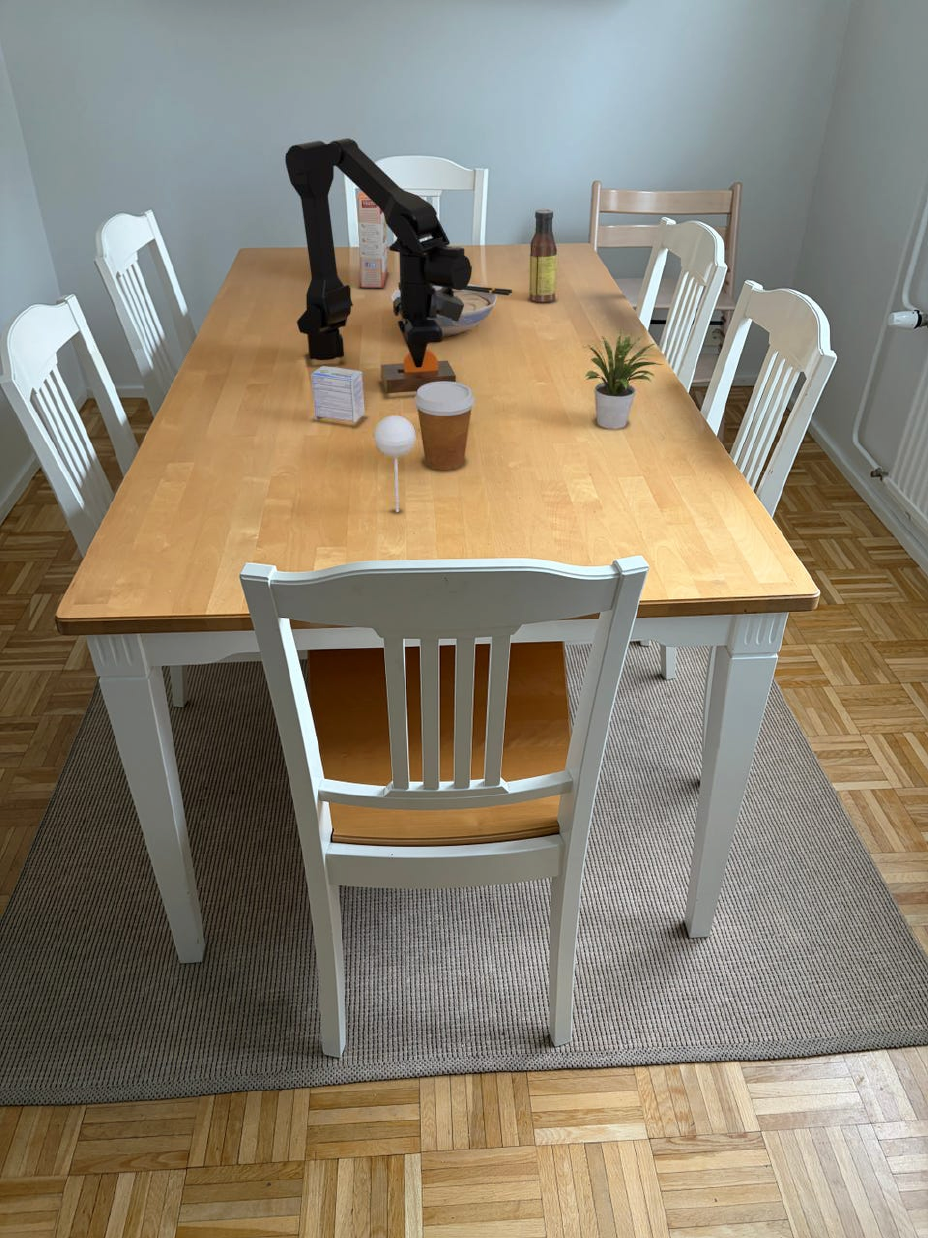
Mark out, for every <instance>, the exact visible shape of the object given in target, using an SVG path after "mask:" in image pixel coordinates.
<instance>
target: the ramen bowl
mask: <svg viewBox="0 0 928 1238" xmlns="http://www.w3.org/2000/svg"><path fill="white" fill-rule="evenodd" d="M432 285H433V284H432ZM433 287H434V288H435V290H436V291H437V290H439V291H440V290H441V289H442V288H443V287H442V286H437V285H433ZM453 292H454V297H455V296H457V297H458V298H459V299H461V301H462V302H463V304H464V308H463V310H462V313H461V316H460V319H459V321H458V322H456V321H453V320H452V319H450V318H447V317H444V316H441V315H438V314H437V318H427V319H428V320H435V321H436V322H437V323H438V324H439V326H440V327H441V329H442V337H452V336H456V335H458V334H460V333H462V332H466V331H469V330H472V329H474V328H475V327H477V326H479V325H480V324H482V323H483V322H484V321H485V319H486V318H487V317H488V316H489V315H490V313H491V312H492V309H493V308H494V306H495V304H496V301H497V300H498V296H497V295H500V296H510V294H512V293H513V290H512V289H507V288H499V287H498V288H496V287H495V288H494V287H486V286H482V285H477V284H472V283H468V285H467V286H466V287H465V288H464V289H463V290H454V289H453ZM397 297H401V295H400V290H399V288H398V289H396V290H394V292H393V293H392V294H391V295H390V298H391V300H392V302H393V301H394V300H395V299H396V298H397ZM399 315H400V316H401V314H400V311H399Z"/></svg>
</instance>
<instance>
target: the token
mask: <svg viewBox="0 0 928 1238" xmlns="http://www.w3.org/2000/svg"><path fill="white" fill-rule="evenodd" d="M438 361H439V360H438V359H437V356H436V355H435V354H434V352H433V351H431V350H430V349H428V348H426V351H425V355H424V359H423V363H422V367H416V366H415V364H414V361H413V359H412V356H411V354H410V352H409V351H408V353H407V354H406V356H405V357H404V360H403V362H402V363H403V368H404V372H405V373H409V372H424V371H438Z"/></svg>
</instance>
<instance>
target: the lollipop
mask: <svg viewBox="0 0 928 1238" xmlns="http://www.w3.org/2000/svg"><path fill="white" fill-rule="evenodd" d="M416 437H417V435H416V430H415V427H414V425H413V423H411V421H410V420H408V418H406V417H404V416H401V415H397V414H391V415H388V416H385V417H384V418H382V419H381V420H380V421H379V422H378V423H377V425H376V427H375V429H374V433H373V439H374V444H375V446H376V448H377V449H378V450H379V452H381V454H383V455H384V456H387V457H389V458H393V467H394V496H395V499H394V500H395V512H396V513H398V512H399V513H400V501H399V498H400V497H399V471H398V470H399V467H398V458H401V457H404V456H406V455H407V454H409V453H410V452H411V451H412V449H413V448H414V446H415V443H416V439H417V438H416Z"/></svg>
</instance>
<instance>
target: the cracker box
mask: <svg viewBox="0 0 928 1238" xmlns="http://www.w3.org/2000/svg"><path fill="white" fill-rule="evenodd" d="M356 203H357V204H356V205H357V206H356V207H357V209H356V210H357V229H358V232H357V233H358V254H359V255H358V257H359V281H360V288H363V289H366V288H367V289H383V288H384V285H385V281H386V278H387V275H388V247H387V246H388V244H387V224H386V221H385V217H384V213H383V212H382V211H381V209H380V208H379V207H378V206H377V205H376V204H375V203H374V202H373V201H372V200H371V199H370V198H369V197H368V196H367V195H366V194H365V193H364V192H363V191H361V190H360V191H359V193H358V195H357V197H356Z"/></svg>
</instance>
